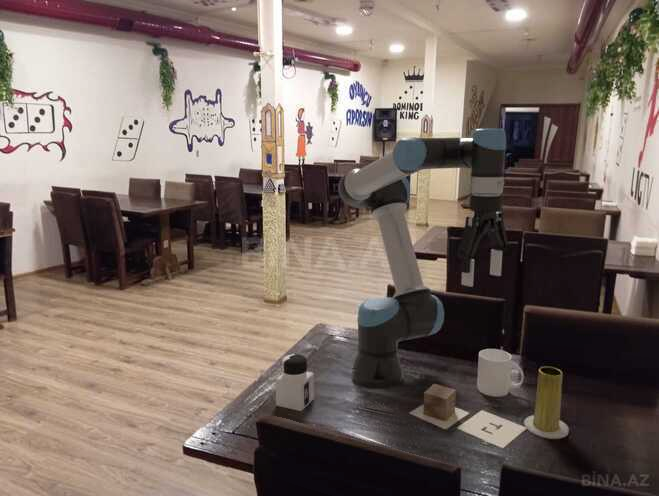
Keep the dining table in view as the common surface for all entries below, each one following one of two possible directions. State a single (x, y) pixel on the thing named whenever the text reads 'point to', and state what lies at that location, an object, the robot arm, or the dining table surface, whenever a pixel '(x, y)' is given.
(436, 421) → the plate
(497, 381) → the mug
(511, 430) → the plate
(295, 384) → the container
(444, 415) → the walnut block
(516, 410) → the dining table surface
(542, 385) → the vase
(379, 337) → the robot arm
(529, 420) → the white round coaster
